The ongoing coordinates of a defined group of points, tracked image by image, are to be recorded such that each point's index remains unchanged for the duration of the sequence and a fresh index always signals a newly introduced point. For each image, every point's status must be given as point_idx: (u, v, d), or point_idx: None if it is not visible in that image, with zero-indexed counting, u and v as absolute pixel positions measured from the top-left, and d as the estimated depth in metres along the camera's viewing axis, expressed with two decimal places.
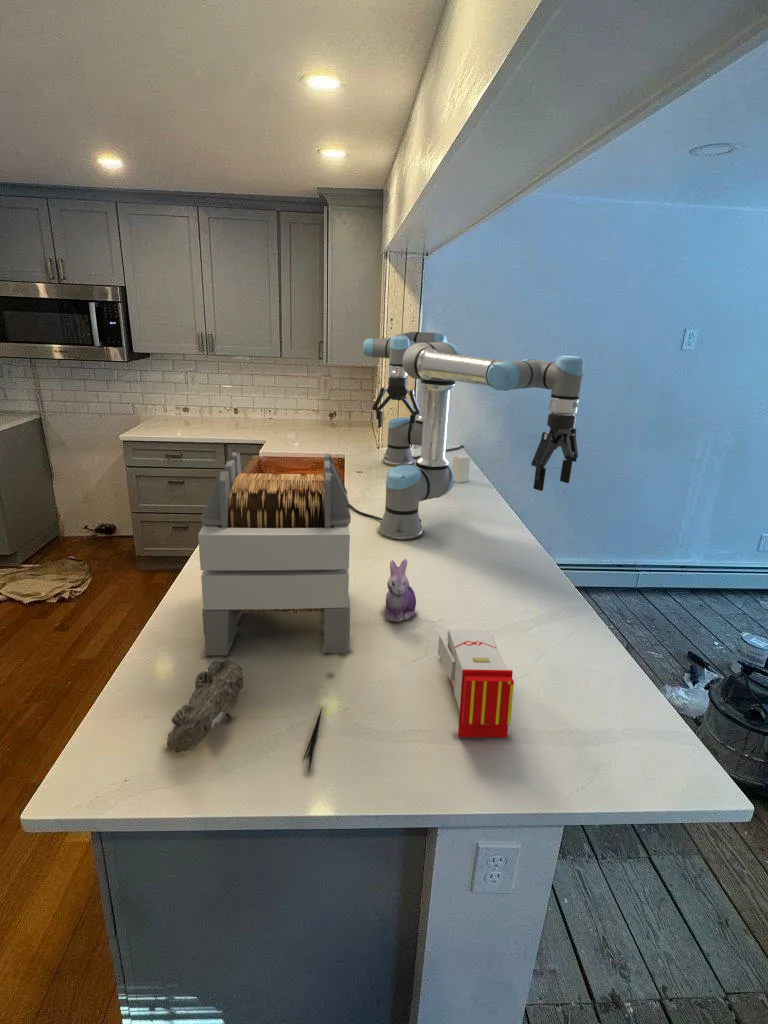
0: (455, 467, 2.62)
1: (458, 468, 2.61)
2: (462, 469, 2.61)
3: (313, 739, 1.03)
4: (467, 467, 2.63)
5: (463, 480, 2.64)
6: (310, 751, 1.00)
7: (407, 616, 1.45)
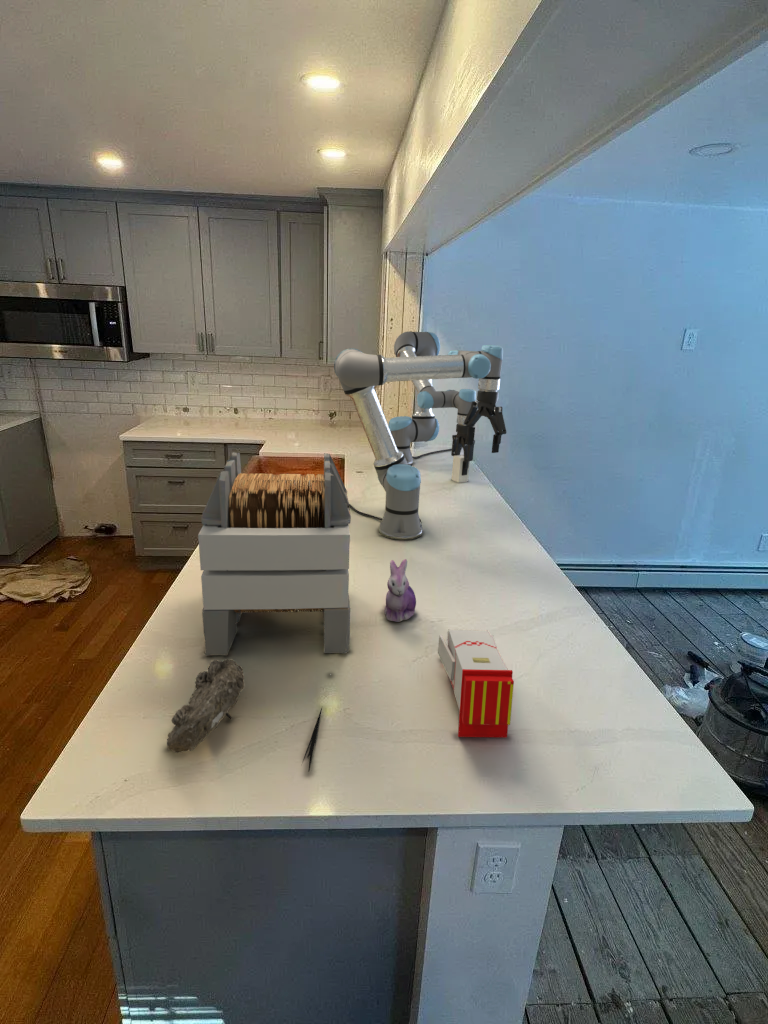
0: (455, 467, 2.62)
1: (458, 468, 2.61)
2: None
3: (313, 739, 1.03)
4: None
5: (463, 480, 2.64)
6: (310, 751, 1.00)
7: (407, 616, 1.45)
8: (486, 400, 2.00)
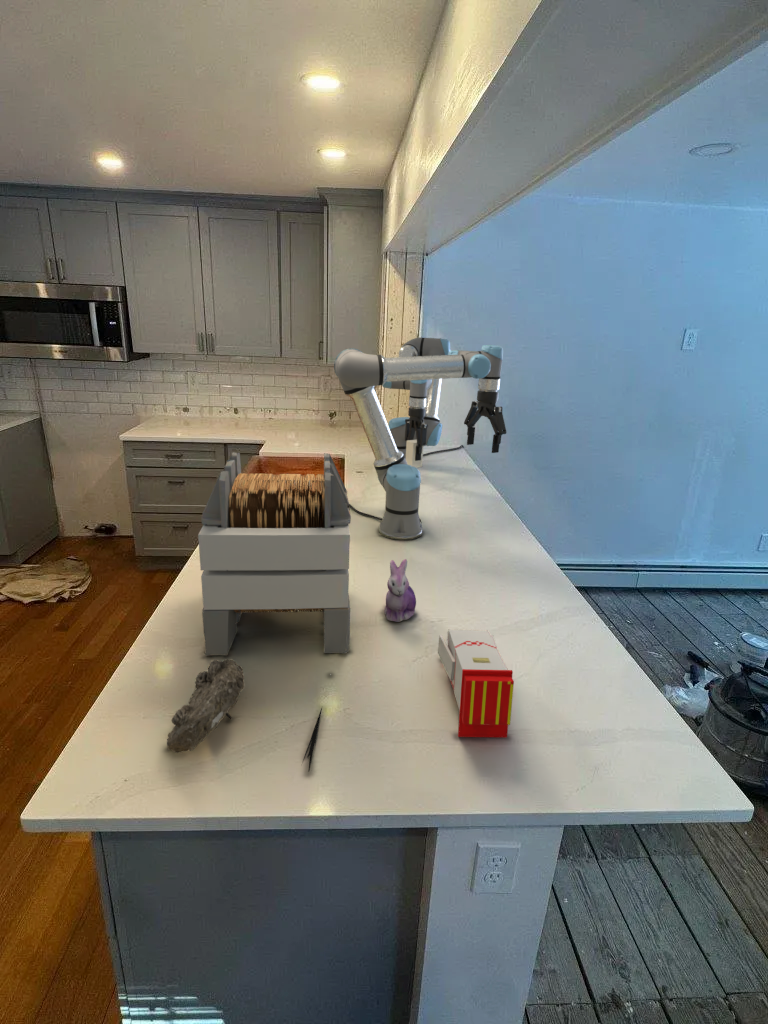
0: (408, 452, 2.54)
1: (411, 453, 2.52)
2: None
3: (313, 739, 1.03)
4: None
5: (417, 466, 2.55)
6: (310, 751, 1.00)
7: (407, 616, 1.45)
8: (486, 400, 2.00)
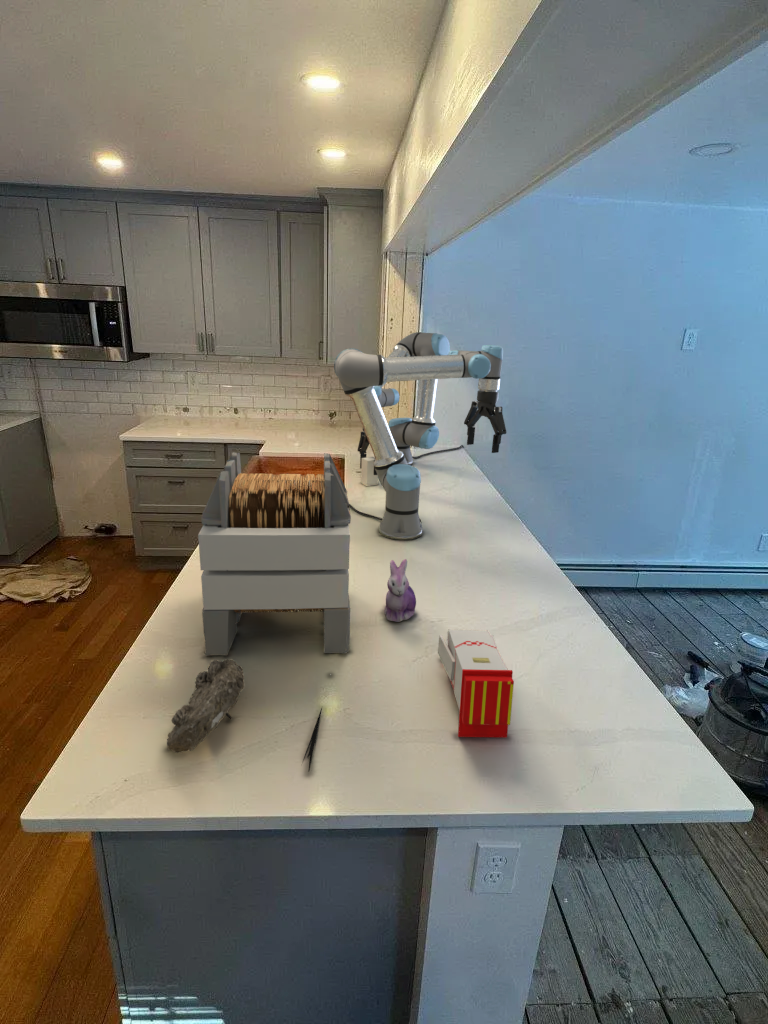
0: (363, 470, 2.51)
1: (366, 471, 2.50)
2: (370, 472, 2.50)
3: (313, 739, 1.03)
4: None
5: (372, 483, 2.53)
6: (310, 751, 1.00)
7: (407, 616, 1.45)
8: (486, 400, 2.00)
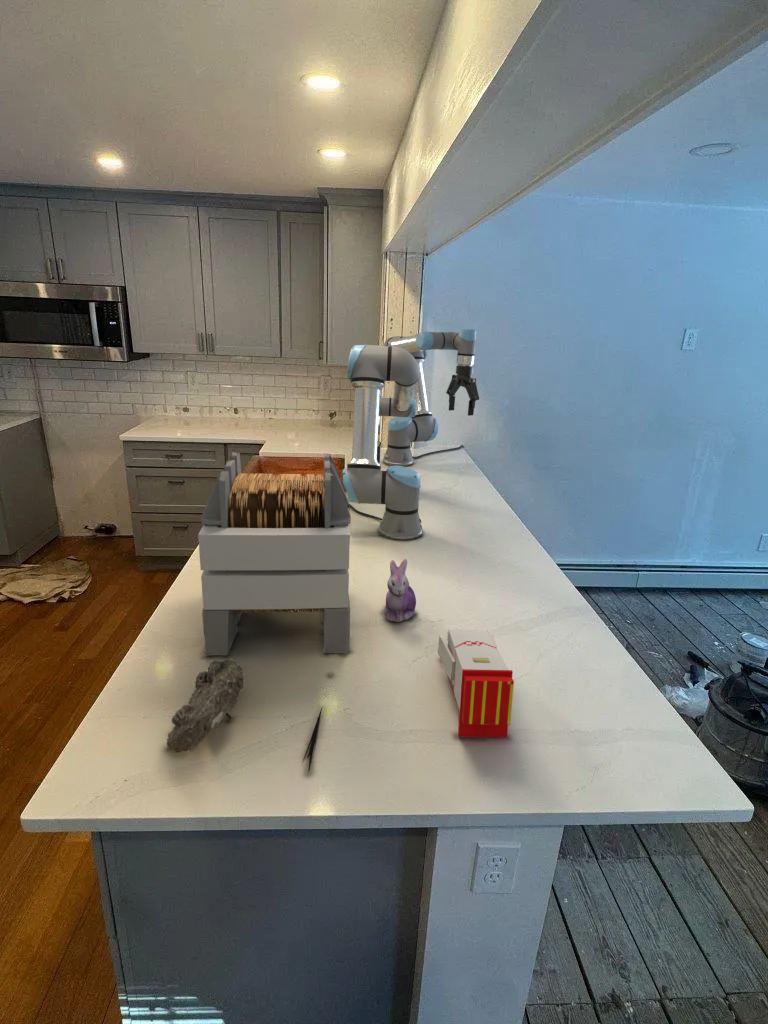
0: None
1: None
2: None
3: (313, 739, 1.03)
4: None
5: None
6: (310, 751, 1.00)
7: (407, 616, 1.45)
8: None
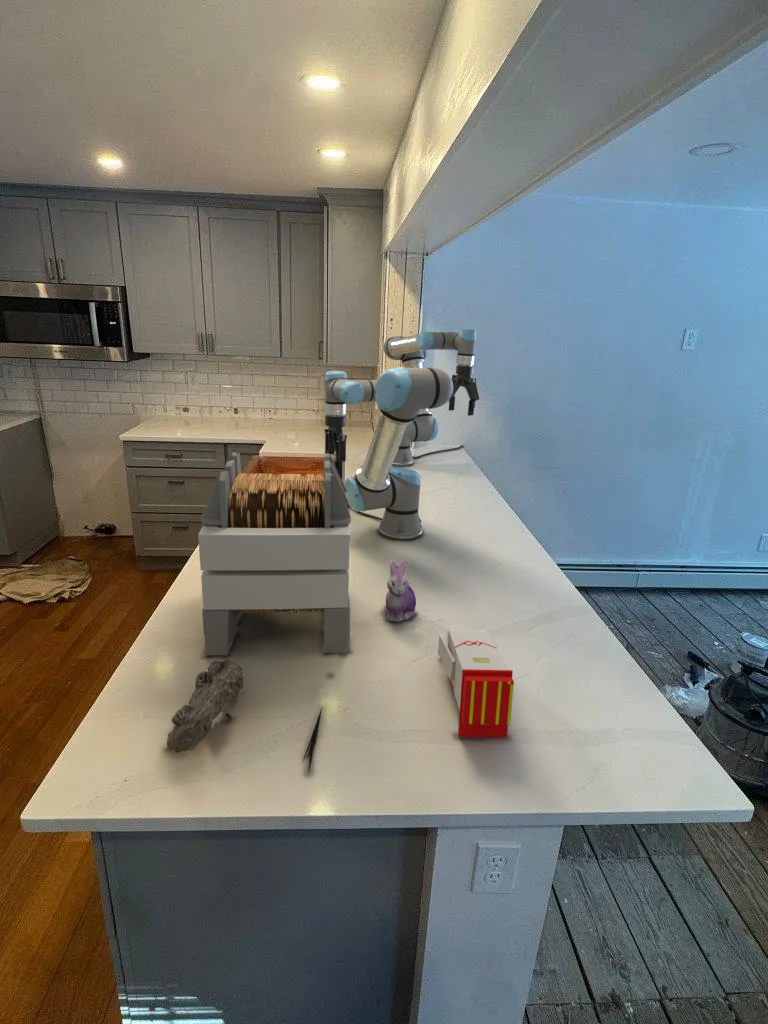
0: None
1: None
2: None
3: (313, 739, 1.03)
4: (342, 469, 2.11)
5: None
6: (310, 751, 1.00)
7: (407, 616, 1.45)
8: (331, 425, 2.03)
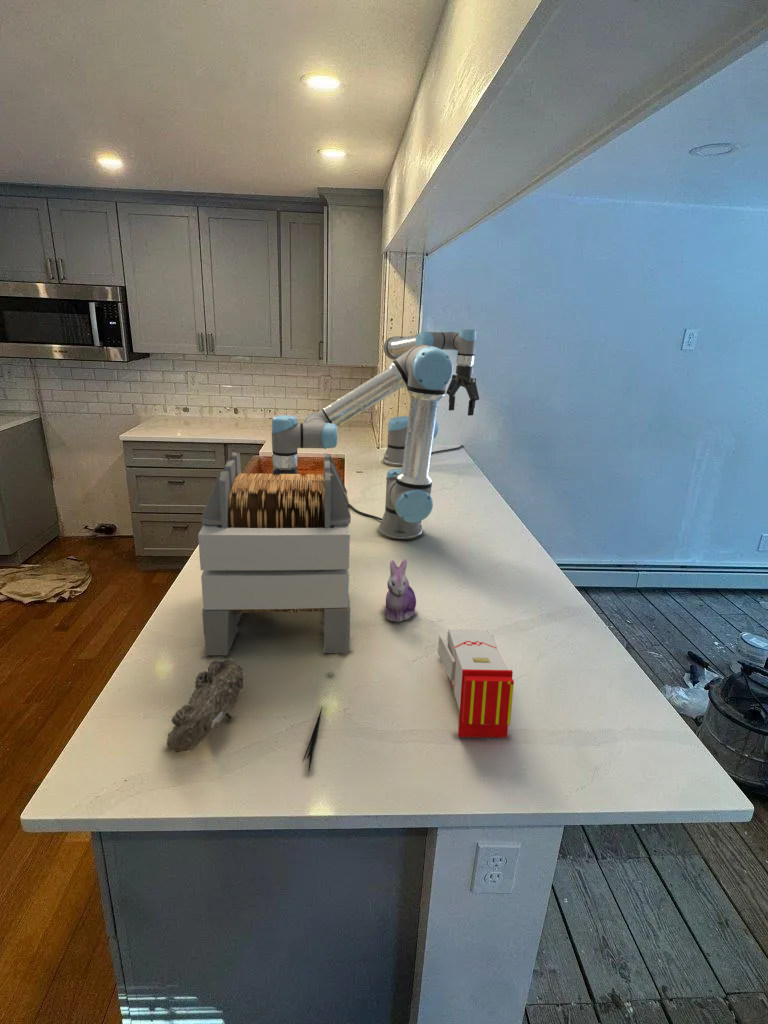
0: None
1: None
2: None
3: (313, 739, 1.03)
4: None
5: None
6: (310, 751, 1.00)
7: (407, 616, 1.45)
8: None
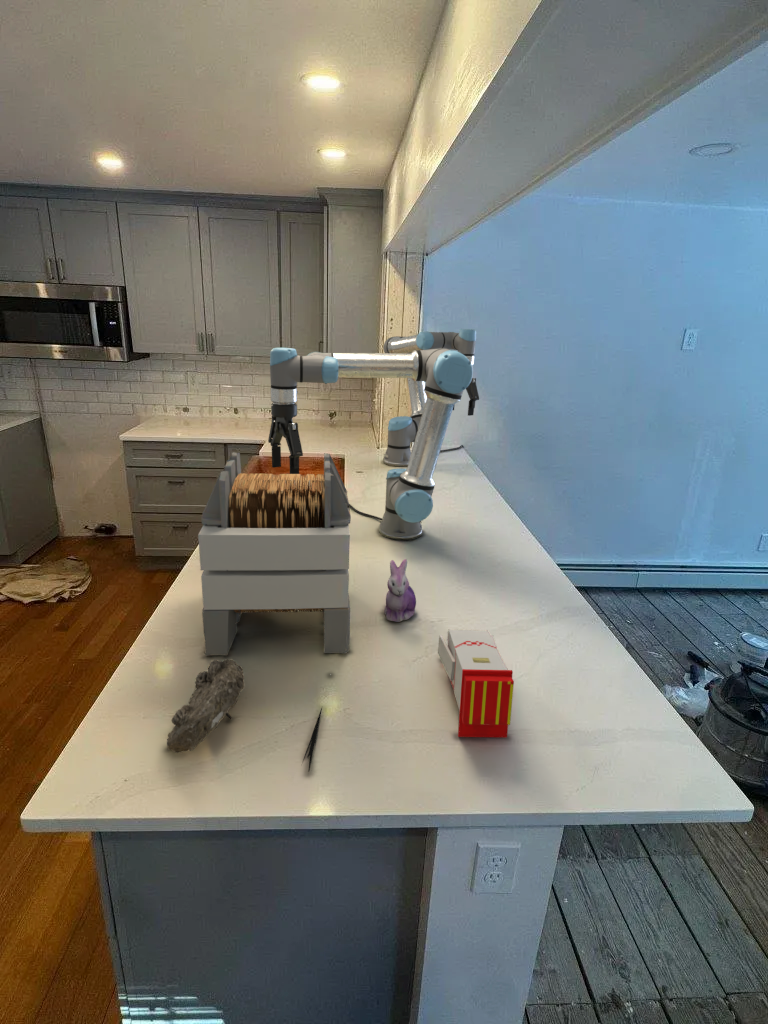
0: None
1: None
2: None
3: (313, 739, 1.03)
4: None
5: None
6: (310, 751, 1.00)
7: (407, 616, 1.45)
8: (278, 415, 1.64)
